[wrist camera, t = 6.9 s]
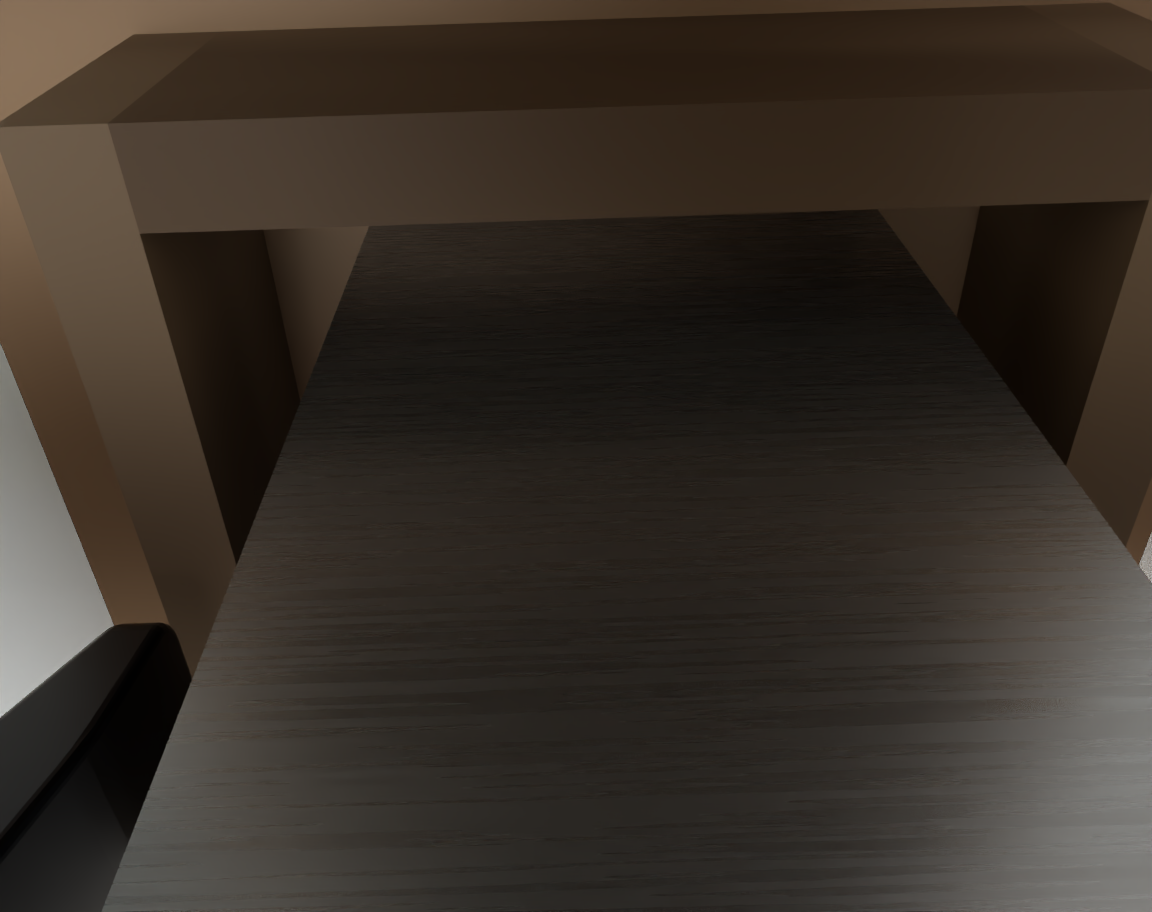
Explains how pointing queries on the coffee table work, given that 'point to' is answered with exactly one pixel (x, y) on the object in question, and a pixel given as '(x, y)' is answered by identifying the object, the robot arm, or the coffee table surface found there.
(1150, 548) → the coffee table surface
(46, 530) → the coffee table surface
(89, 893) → the robot arm
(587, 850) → the block
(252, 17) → the pallet
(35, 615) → the coffee table surface
